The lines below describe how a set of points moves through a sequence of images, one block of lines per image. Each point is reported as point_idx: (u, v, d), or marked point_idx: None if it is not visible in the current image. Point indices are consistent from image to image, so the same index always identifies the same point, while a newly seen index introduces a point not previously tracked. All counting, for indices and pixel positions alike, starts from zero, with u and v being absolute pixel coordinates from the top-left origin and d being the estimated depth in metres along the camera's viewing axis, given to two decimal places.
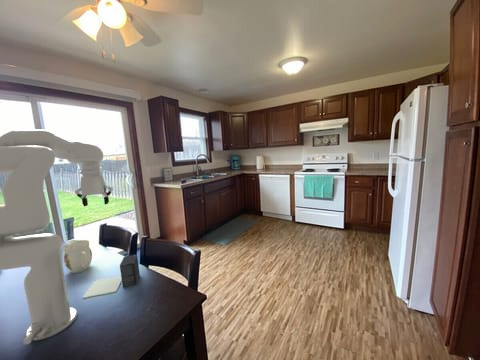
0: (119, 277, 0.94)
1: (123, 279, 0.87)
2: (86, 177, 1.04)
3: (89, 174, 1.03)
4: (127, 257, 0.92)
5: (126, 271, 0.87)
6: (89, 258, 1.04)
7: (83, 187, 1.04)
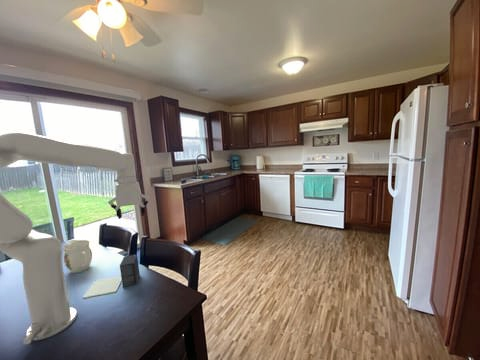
0: (119, 277, 0.94)
1: (123, 279, 0.87)
2: (122, 185, 0.91)
3: (126, 182, 0.90)
4: (127, 257, 0.92)
5: (126, 271, 0.87)
6: (89, 258, 1.04)
7: (119, 196, 0.91)
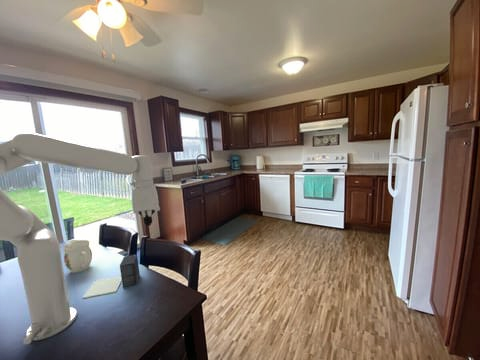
0: (119, 277, 0.94)
1: (123, 279, 0.87)
2: (139, 190, 0.86)
3: (143, 186, 0.85)
4: (127, 257, 0.92)
5: (126, 271, 0.87)
6: (89, 258, 1.04)
7: (135, 201, 0.86)
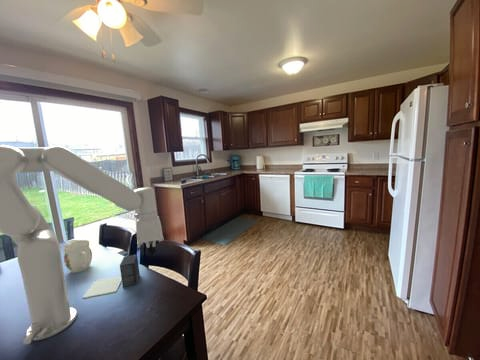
0: (119, 277, 0.94)
1: (123, 279, 0.87)
2: (143, 222, 0.88)
3: (147, 219, 0.87)
4: (127, 257, 0.92)
5: (126, 271, 0.87)
6: (89, 258, 1.04)
7: (140, 233, 0.88)
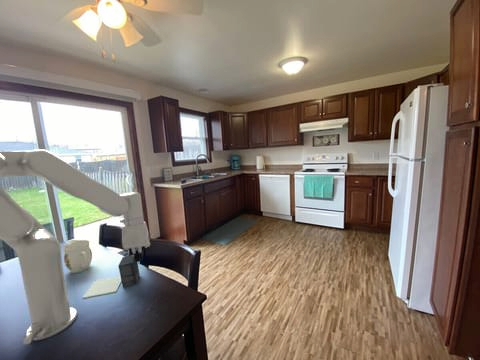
0: (119, 277, 0.94)
1: (123, 279, 0.87)
2: (128, 227, 0.86)
3: (132, 224, 0.86)
4: (126, 257, 0.92)
5: (125, 271, 0.87)
6: (89, 258, 1.04)
7: (125, 239, 0.87)
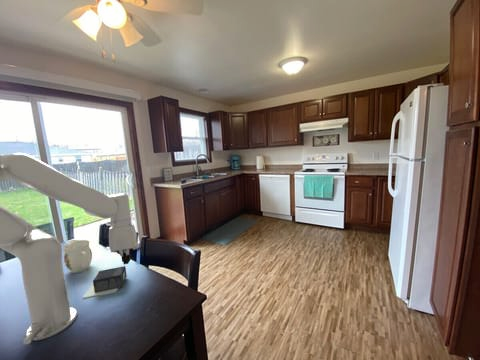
0: None
1: (112, 287, 0.86)
2: (116, 229, 0.85)
3: (120, 226, 0.84)
4: None
5: (103, 286, 0.85)
6: (89, 258, 1.04)
7: (112, 241, 0.85)
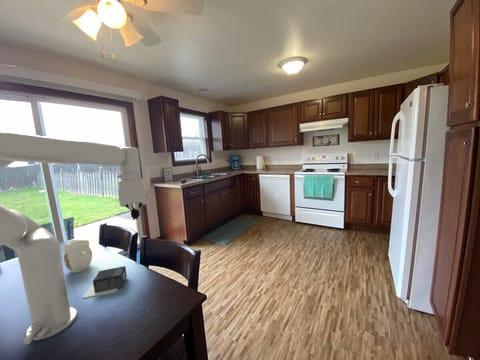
0: None
1: (112, 287, 0.86)
2: (125, 182, 0.84)
3: (130, 178, 0.83)
4: None
5: (103, 286, 0.85)
6: (89, 258, 1.04)
7: (122, 194, 0.84)
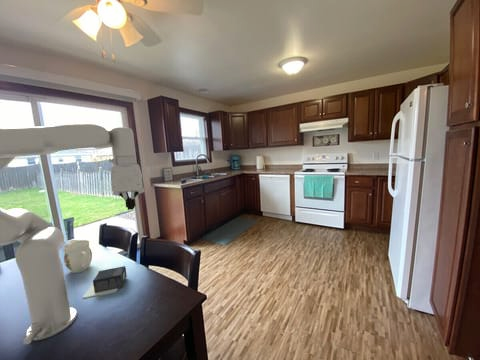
0: None
1: (112, 287, 0.86)
2: (119, 167, 0.74)
3: (123, 163, 0.73)
4: None
5: (103, 286, 0.85)
6: (89, 258, 1.04)
7: (115, 180, 0.74)
